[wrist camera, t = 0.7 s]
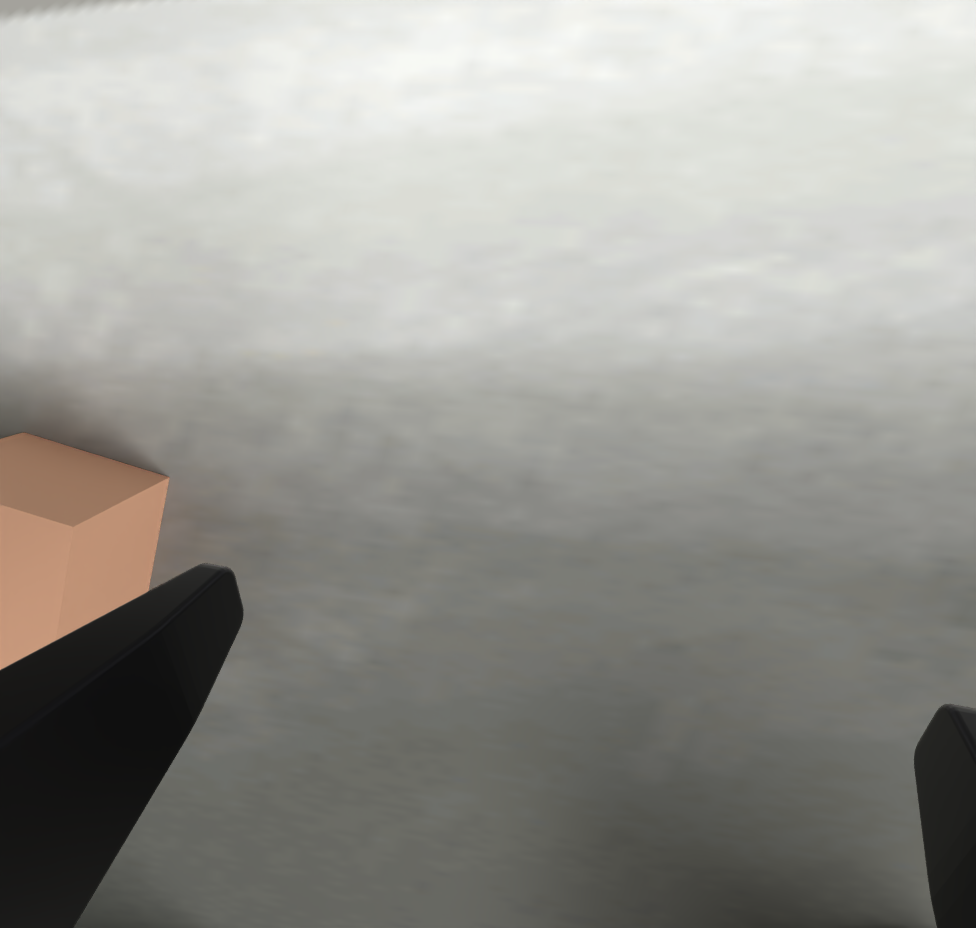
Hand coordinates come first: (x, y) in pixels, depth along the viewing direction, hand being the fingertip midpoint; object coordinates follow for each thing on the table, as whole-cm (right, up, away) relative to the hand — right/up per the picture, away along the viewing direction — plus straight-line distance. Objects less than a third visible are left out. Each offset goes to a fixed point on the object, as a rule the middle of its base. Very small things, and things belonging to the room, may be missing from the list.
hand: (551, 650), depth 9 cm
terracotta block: (-14, 0, +15) cm, 21 cm away
